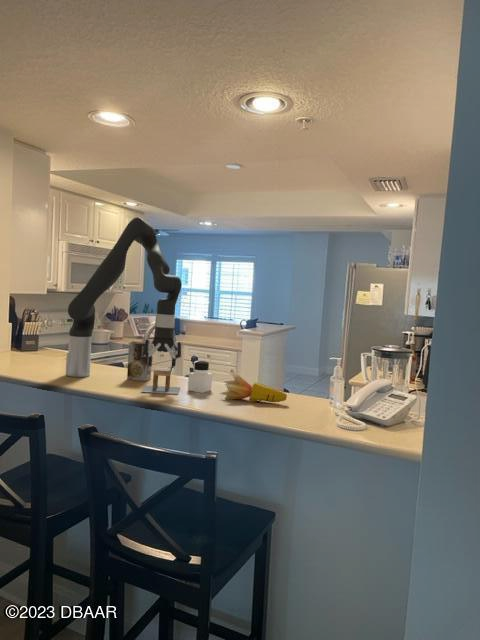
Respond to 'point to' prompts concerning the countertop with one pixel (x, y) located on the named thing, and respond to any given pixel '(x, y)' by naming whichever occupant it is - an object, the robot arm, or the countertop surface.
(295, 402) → the countertop surface
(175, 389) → the mat
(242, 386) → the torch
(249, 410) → the countertop surface
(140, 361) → the coffee box
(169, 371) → the stool
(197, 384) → the medicine bottle
